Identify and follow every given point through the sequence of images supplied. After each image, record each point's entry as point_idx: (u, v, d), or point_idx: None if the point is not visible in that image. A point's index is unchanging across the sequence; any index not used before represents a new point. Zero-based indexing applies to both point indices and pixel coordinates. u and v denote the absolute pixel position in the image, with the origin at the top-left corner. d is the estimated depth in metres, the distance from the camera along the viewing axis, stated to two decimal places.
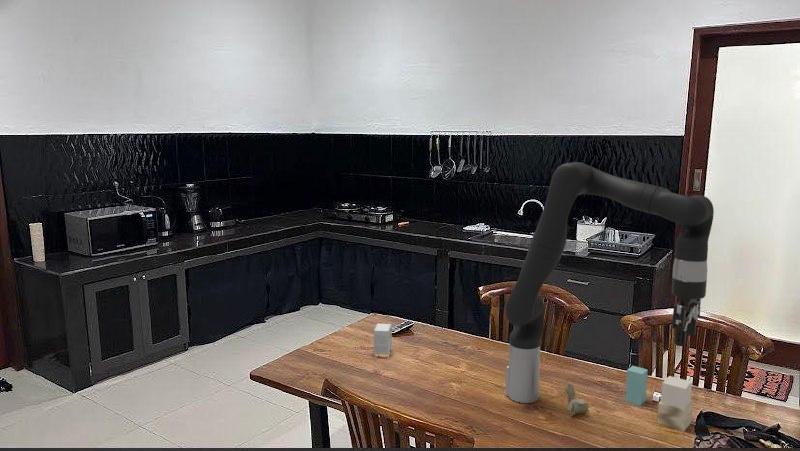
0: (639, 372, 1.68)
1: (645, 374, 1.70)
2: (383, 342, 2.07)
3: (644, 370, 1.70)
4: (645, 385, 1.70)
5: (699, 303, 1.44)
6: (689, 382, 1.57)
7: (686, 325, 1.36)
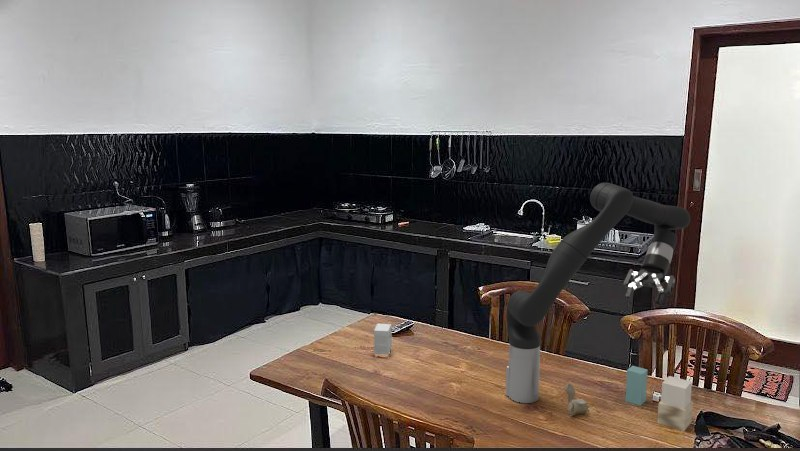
0: (639, 372, 1.68)
1: (645, 374, 1.70)
2: (383, 342, 2.07)
3: (644, 370, 1.70)
4: (645, 385, 1.70)
5: None
6: (689, 382, 1.57)
7: None
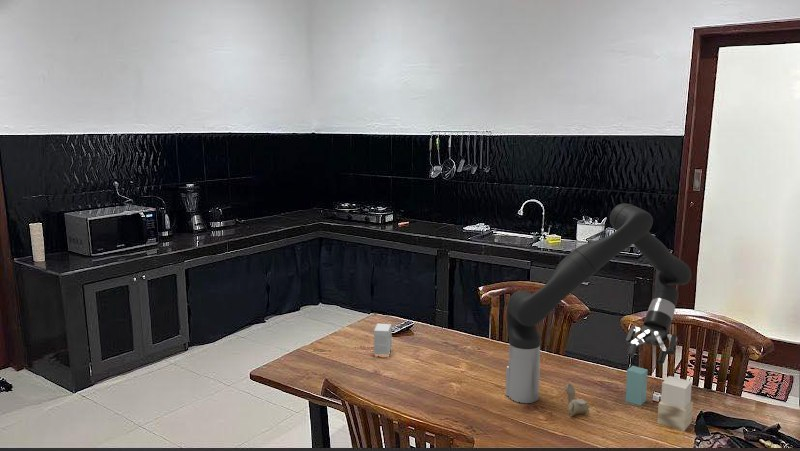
0: (639, 372, 1.68)
1: (645, 374, 1.70)
2: (383, 342, 2.07)
3: (644, 370, 1.70)
4: (645, 385, 1.70)
5: None
6: (689, 382, 1.57)
7: None
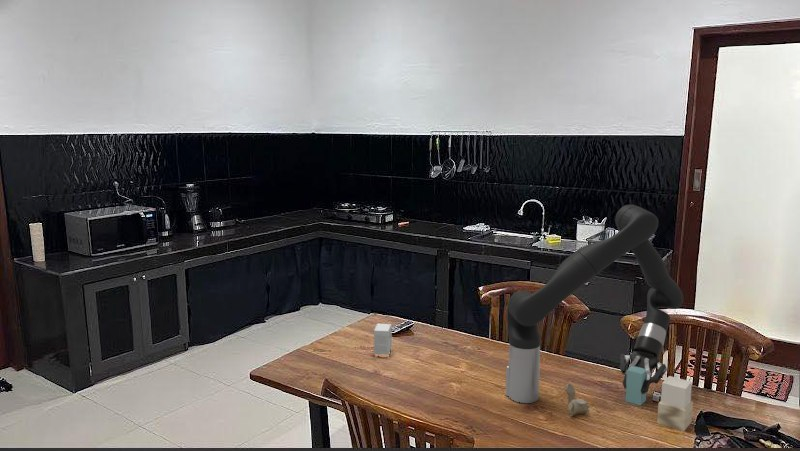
0: (639, 372, 1.68)
1: (645, 374, 1.70)
2: (383, 342, 2.07)
3: (644, 370, 1.70)
4: None
5: None
6: (689, 382, 1.57)
7: None
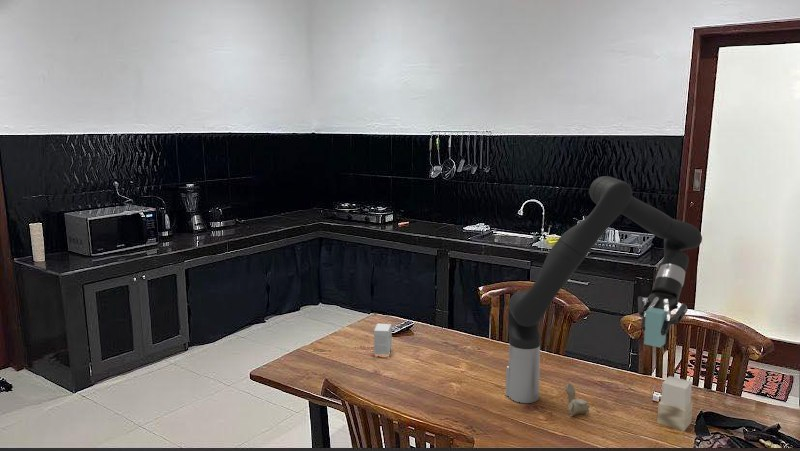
0: (658, 312, 1.61)
1: (665, 315, 1.62)
2: (383, 342, 2.07)
3: (664, 310, 1.62)
4: None
5: (643, 306, 1.70)
6: (689, 382, 1.57)
7: None
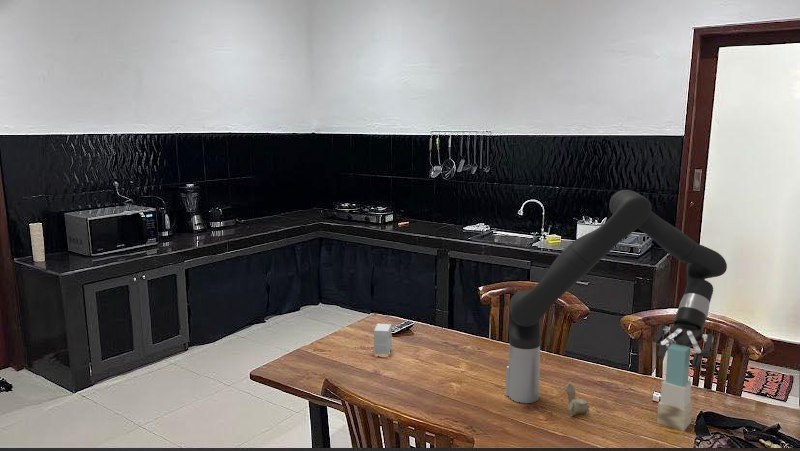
0: (681, 350, 1.54)
1: (688, 352, 1.55)
2: (383, 342, 2.07)
3: (687, 348, 1.55)
4: (687, 364, 1.56)
5: None
6: (689, 382, 1.57)
7: None
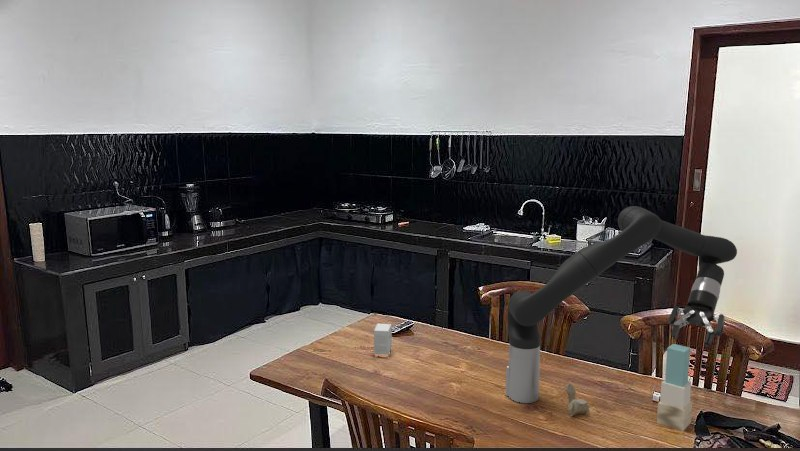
0: (681, 350, 1.54)
1: (687, 352, 1.55)
2: (383, 342, 2.07)
3: (686, 348, 1.55)
4: (687, 364, 1.56)
5: (676, 315, 1.73)
6: (688, 382, 1.57)
7: None
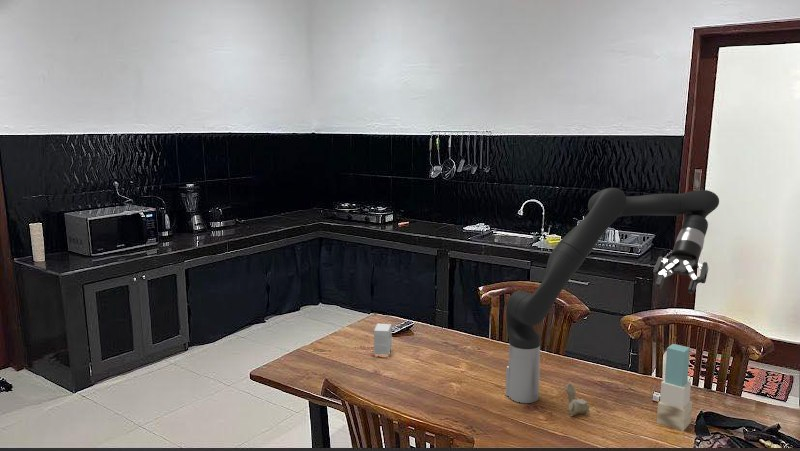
0: (680, 350, 1.54)
1: (687, 352, 1.55)
2: (383, 342, 2.07)
3: (686, 348, 1.55)
4: (687, 364, 1.56)
5: (661, 266, 1.75)
6: (688, 382, 1.57)
7: None
